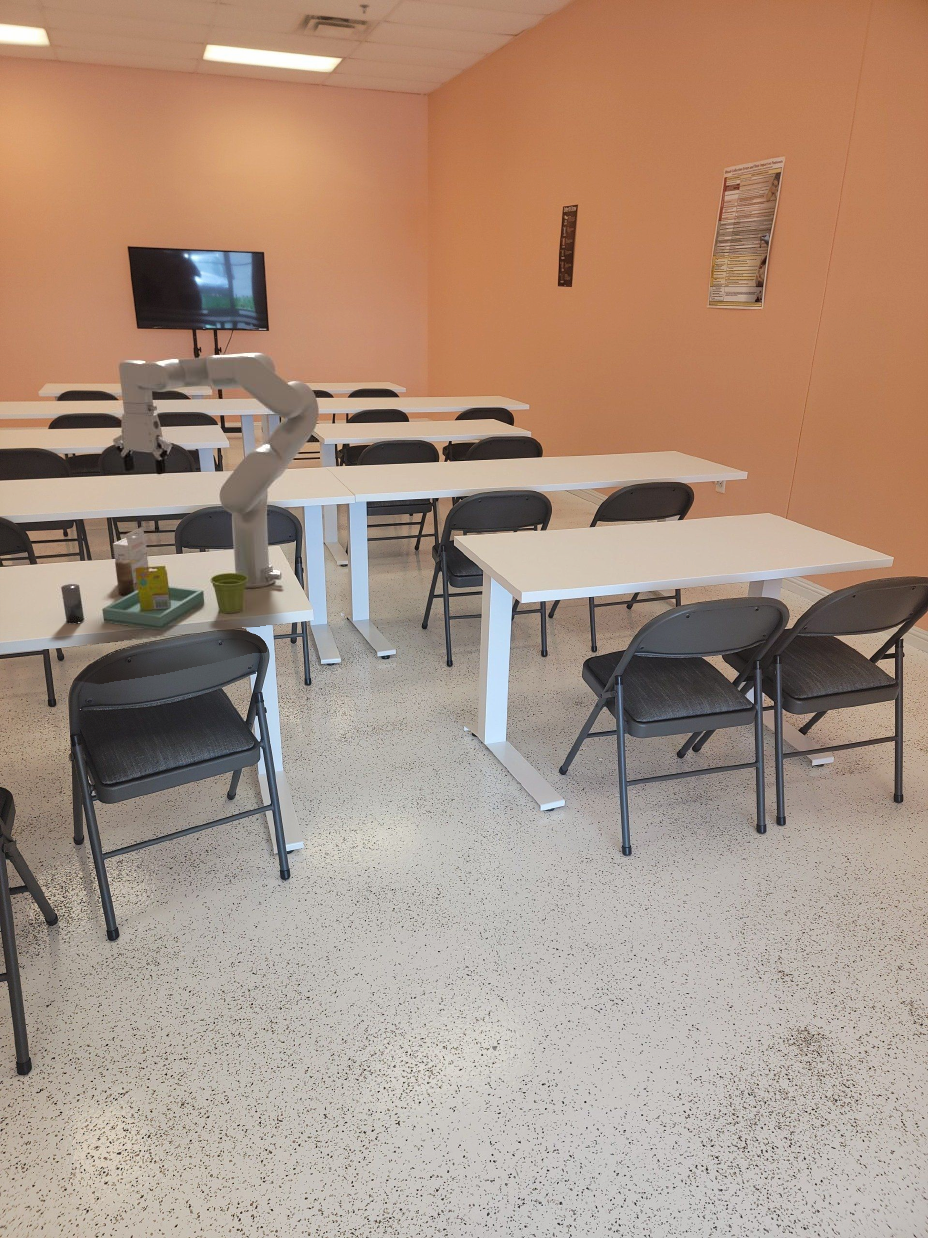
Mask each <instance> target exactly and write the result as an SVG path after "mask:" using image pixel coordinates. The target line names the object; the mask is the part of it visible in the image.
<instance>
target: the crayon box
mask: <svg viewBox="0 0 928 1238" xmlns="http://www.w3.org/2000/svg"><path fill="white" fill-rule="evenodd" d="M135 569H136V579H137V583H136V586H137V590H138V594H139V602H140V610H141V611H144V610H156V609H170V608H171V602H170V594H169V586H170V585H169V579H168V571H167V569H166V565H161V566H148V567H140V568H135ZM148 569H149V571H144V570H148ZM150 569H152V570H150Z"/></svg>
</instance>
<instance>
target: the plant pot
mask: <svg viewBox="0 0 928 1238" xmlns="http://www.w3.org/2000/svg"><path fill="white" fill-rule="evenodd" d="M209 580H210V582H211V584H212V587H213V588H214V589H213V590H214V592H215V593H214V594H215V597H216V602H217V606H218V611H219V612H221V613H223V614H227V613H232V614H236V613H239V612H241V611H243V609H244V601H245V590H246V588H245V586H246V582H247V581H248V577H247V576H245V575H243V574H238V573H235V572H227V573H224V572H223V573H219V574H215V575H213V576H212V577H210V579H209Z"/></svg>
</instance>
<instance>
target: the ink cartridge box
mask: <svg viewBox="0 0 928 1238" xmlns="http://www.w3.org/2000/svg"><path fill="white" fill-rule="evenodd" d="M136 535H137V536H136ZM146 542H147V541H146V537H145V531H144V528H143V527H142V526H141V527H138V528H137V529H134V530H132V531H131V532H128V533H126V534H125V538H123V539H120V540H118V541H115V542H114V543H112V547H113V554H114V561H115V562H116V561H118V560H130V561H131V565H132V573H133V582H134V585H135V584H137V579H136V569H135V568H140V567H149V560H148V559H149V558H148V552H147V551H148V550H147V544H146ZM115 562H114V563H115ZM144 571H150V569H148V570H144Z"/></svg>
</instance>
